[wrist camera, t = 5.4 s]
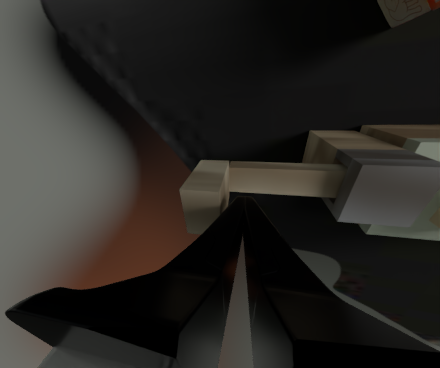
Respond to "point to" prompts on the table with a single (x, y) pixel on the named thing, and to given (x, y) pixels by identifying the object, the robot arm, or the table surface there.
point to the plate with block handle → (431, 215)
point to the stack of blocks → (405, 9)
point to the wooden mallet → (251, 185)
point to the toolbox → (377, 173)
